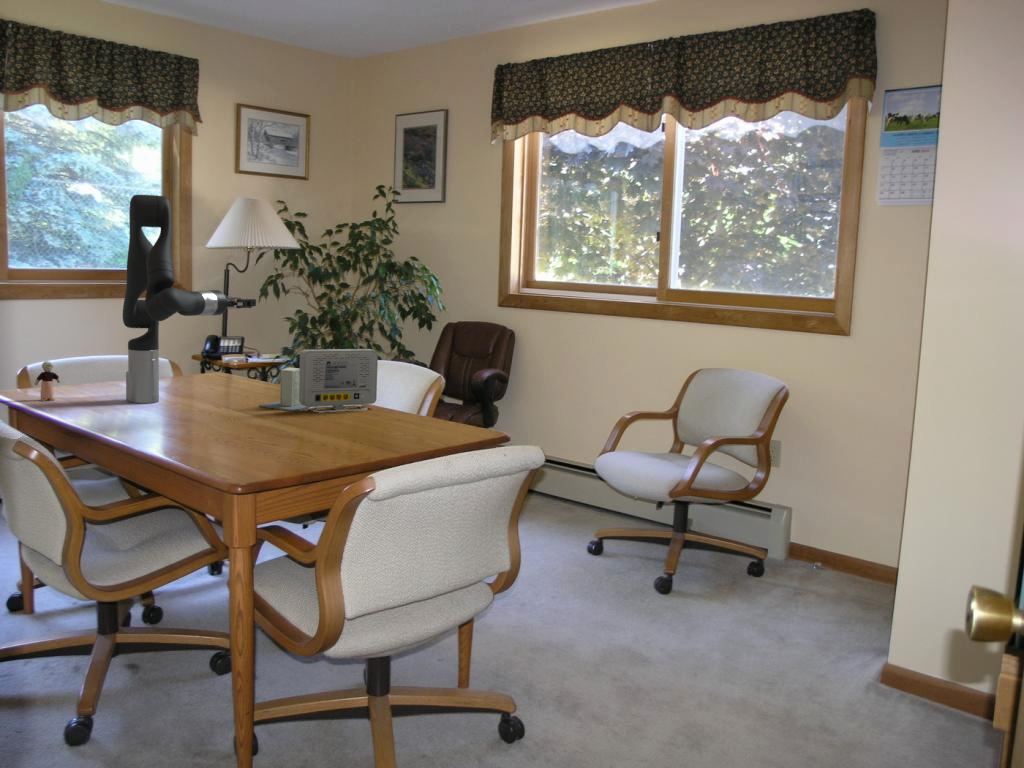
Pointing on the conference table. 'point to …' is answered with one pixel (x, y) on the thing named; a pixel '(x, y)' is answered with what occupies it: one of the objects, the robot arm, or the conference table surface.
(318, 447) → the conference table surface
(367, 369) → the network device
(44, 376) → the grandmother figurine
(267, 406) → the slate pad
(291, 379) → the skincare box
